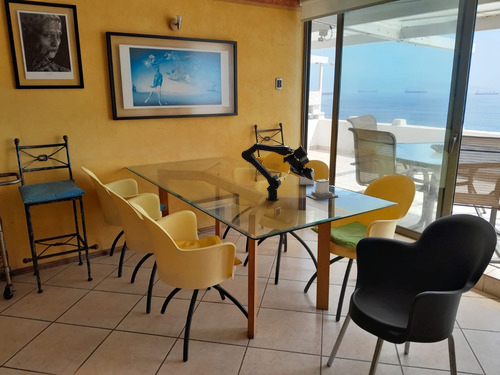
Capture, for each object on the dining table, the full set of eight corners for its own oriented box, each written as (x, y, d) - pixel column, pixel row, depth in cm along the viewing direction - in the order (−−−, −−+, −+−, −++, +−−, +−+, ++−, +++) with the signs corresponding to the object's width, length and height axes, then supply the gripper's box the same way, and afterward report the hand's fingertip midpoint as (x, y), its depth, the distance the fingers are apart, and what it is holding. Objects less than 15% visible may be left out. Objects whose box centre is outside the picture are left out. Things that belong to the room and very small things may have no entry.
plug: (315, 194, 248) (315, 180, 245) (323, 193, 251) (324, 179, 248) (319, 196, 244) (320, 181, 241) (328, 195, 247) (329, 180, 244)
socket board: (305, 195, 249) (305, 191, 248) (326, 192, 257) (327, 188, 256) (315, 200, 238) (316, 195, 238) (338, 197, 246) (338, 192, 245)
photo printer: (300, 184, 279) (301, 168, 276) (299, 183, 283) (300, 167, 280) (314, 184, 279) (315, 168, 276) (313, 183, 283) (314, 167, 280)
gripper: (310, 155, 225) (324, 171, 232) (293, 150, 241) (307, 166, 248) (299, 169, 223) (313, 185, 231) (283, 163, 240) (297, 178, 247)
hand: (308, 178), depth 239 cm, fingers open, 9 cm apart
